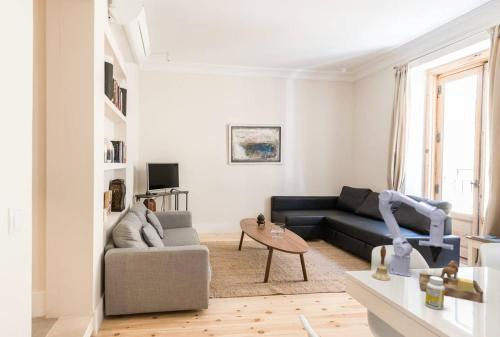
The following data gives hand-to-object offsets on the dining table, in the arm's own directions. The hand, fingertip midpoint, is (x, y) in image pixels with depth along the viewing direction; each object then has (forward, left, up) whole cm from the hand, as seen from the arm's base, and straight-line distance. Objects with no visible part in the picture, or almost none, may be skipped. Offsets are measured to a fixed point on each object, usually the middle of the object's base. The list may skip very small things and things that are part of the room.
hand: (434, 261), depth 161 cm
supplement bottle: (-2, -33, -10) cm, 35 cm away
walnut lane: (+5, -9, -10) cm, 14 cm away
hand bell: (-23, -9, -10) cm, 27 cm away
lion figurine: (+7, +9, -10) cm, 15 cm away
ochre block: (+12, -9, -8) cm, 17 cm away
